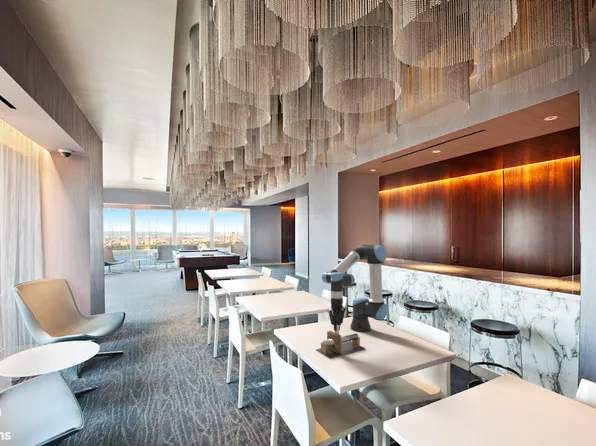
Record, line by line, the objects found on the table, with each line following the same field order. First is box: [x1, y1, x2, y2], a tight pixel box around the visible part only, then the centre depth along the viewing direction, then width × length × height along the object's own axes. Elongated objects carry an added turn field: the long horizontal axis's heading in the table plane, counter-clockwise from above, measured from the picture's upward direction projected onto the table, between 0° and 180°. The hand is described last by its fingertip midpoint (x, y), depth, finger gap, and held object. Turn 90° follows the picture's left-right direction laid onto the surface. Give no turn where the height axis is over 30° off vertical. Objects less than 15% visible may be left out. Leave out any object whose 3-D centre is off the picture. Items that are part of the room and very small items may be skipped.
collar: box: [326, 330, 342, 353], centre depth 180 cm, size 3×10×10 cm, turn 31°
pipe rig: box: [315, 333, 366, 359], centre depth 183 cm, size 28×14×8 cm, turn 121°
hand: (336, 335), depth 181 cm, fingers closed
